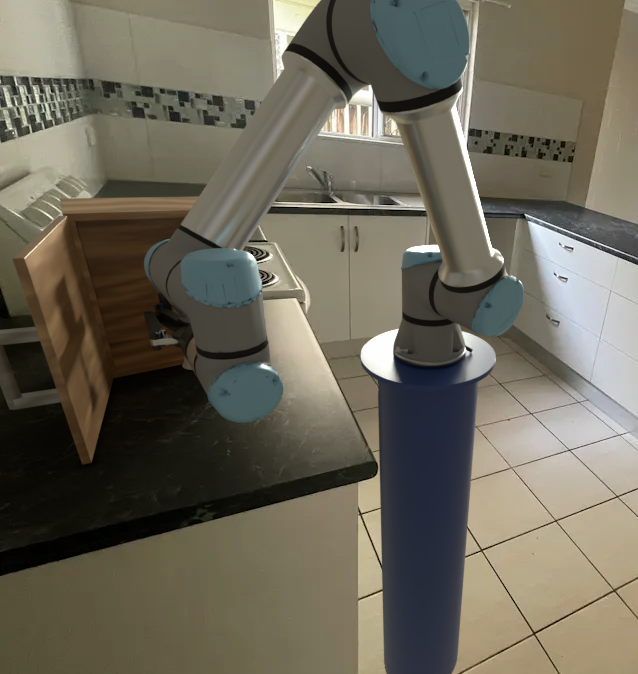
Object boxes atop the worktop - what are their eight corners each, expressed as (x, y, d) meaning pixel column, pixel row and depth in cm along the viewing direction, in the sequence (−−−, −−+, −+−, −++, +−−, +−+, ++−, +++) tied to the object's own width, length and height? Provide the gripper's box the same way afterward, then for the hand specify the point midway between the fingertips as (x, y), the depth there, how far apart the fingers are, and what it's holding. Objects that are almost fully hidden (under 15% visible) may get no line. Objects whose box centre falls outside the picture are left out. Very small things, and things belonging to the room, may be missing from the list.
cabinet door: (28, 476, 60) (-58, 261, 49) (66, 386, 79) (9, 216, 67) (91, 462, 63) (24, 258, 52) (113, 379, 82) (67, 215, 71)
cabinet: (260, 348, 98) (241, 208, 86) (109, 379, 82) (62, 213, 71) (241, 325, 107) (221, 196, 95) (102, 349, 92) (59, 198, 80)
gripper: (143, 391, 60) (120, 329, 76) (288, 358, 72) (243, 309, 87) (130, 338, 57) (109, 284, 73) (283, 312, 69) (237, 270, 84)
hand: (182, 298), depth 80 cm, fingers closed on chalice, 5 cm apart
